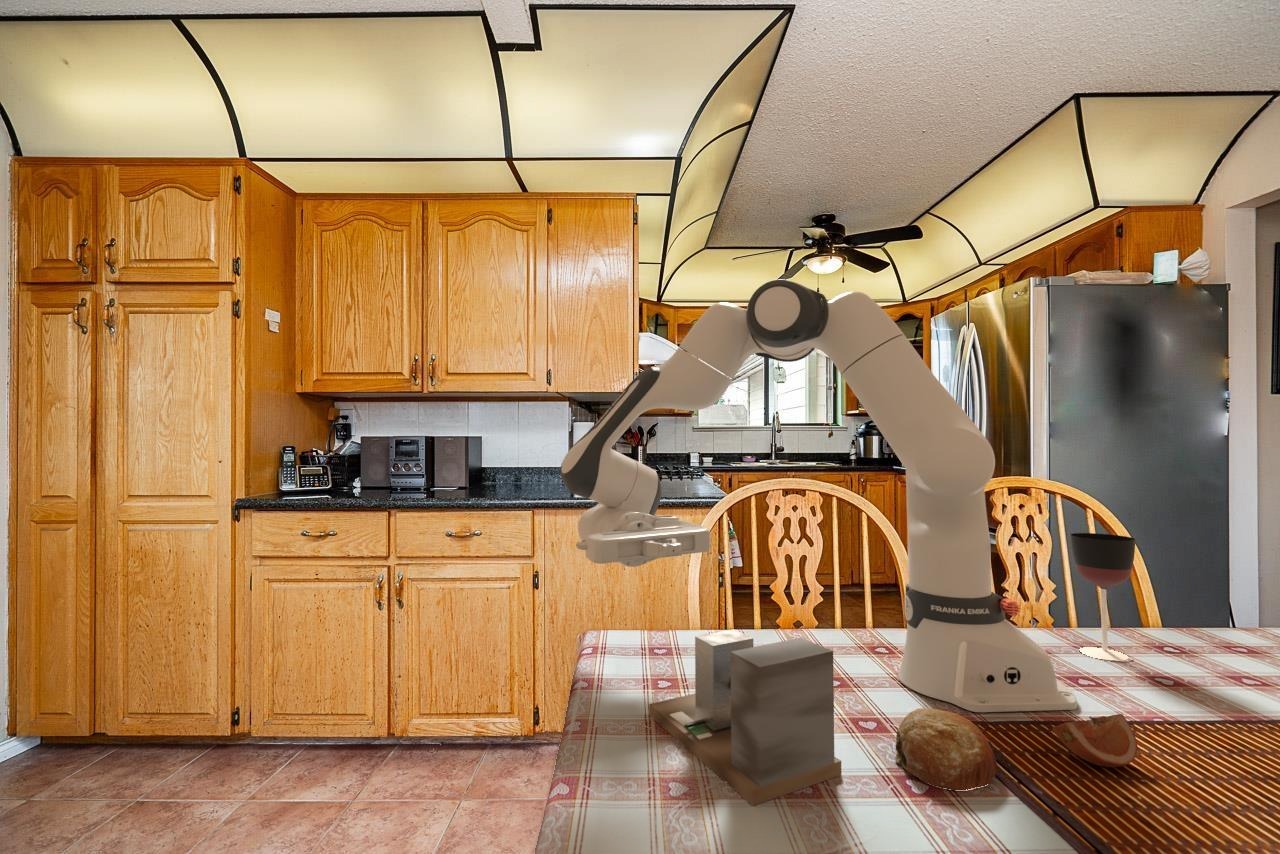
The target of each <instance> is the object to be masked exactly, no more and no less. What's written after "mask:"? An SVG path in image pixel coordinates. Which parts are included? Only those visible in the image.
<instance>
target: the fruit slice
mask: <svg viewBox="0 0 1280 854" xmlns="http://www.w3.org/2000/svg"><path fill="white" fill-rule="evenodd" d="M1088 718H1089V719H1087V720H1085V719H1082V720H1072V721H1065V722H1064V723H1061V724H1059V725H1056V726H1053V727H1052V731H1053V732H1054V734H1055V735H1056V737H1057V738H1058V739H1059V740H1060V742H1062V743H1063V745H1064V746H1065V747H1066V748H1067V749H1068V750H1069V751H1071V752H1072V753H1073V754H1074V755H1076V756H1077V757H1079V758H1080V759H1081V760H1084V761H1086V762H1088V761H1089V762H1088V763H1091V764H1093V763H1094V764H1093V765H1096V764H1097V765H1096V766H1100V767H1104V766H1105V767H1106V768H1118V767H1124V766H1127V765H1129V764H1130V763H1132V762H1133V761H1134V760H1135V759H1136V757H1137V754H1138V740H1137V738H1136V735H1135V732H1134V729H1132V726H1131V725H1130V723H1129V721H1128V720H1127V718H1126V717H1125V715H1124V714H1121V713H1120V714H1118V713H1117V714H1111V715H1109V716H1105V715H1102V716H1098V717H1095V716H1093V717H1092V716H1089V717H1088Z"/></svg>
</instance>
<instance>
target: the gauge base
mask: <svg viewBox="0 0 1280 854" xmlns="http://www.w3.org/2000/svg"><path fill="white" fill-rule="evenodd" d="M834 679H835V678H834V651H833V650H831V649H829V648H827V647H824V646H822V645H819V644H817V643H815V642H813V641H810V640H808V639H806V638H804V637H797V638H793V639H788V640H782V641H777V642H772V643H767V644H762V645H758V646H753V647H751V648H746V649H741V650H736V651H731V726H729V727H726V728H722V729H718V730H714V731H713V730H712V729H711V728H709V727H708V726H707V725H706V724H701V725H697V726H693V727H689V728H687V727H685V724H686V723H690V722H694V721H697V720H699V719H698V718H696V709H695V693H692V694H687V695H683V696H682V695H681V696H680V697H679V696H678V697H674V698H669V699H665V700H662V701H661V700H660V701H656V702H653V703H652V702H651V703H649V705H648V706H649V707H648V708H649V711H648V712H649V713H648V714H649V715H648V716H649V717H651V718H652V719H653V720H654V721H655V722H656V723H657V724H659V725H660V726H661V727H662V728H663V729H664V730H665V731H666V732H668V734H669V735H671V736H672V737H673V738H675V739H676V741H678V742H679V743H680V744H681V745H683V747H685V748H686V749H687V750H688V751H689V752H690V753H692V754H693V755H694V756H695V757H696V758H698V759H699V761H701V762H702V763H703V764H704V765H706V766H707V767H708V768H709V769H710V770H711V771H712V772H714V774H716V775H717V776H718V777H719V778H720V779H721V780H723V781H724V782H725V783H726V784H727V785H729V786H730V787H731V788H732V789H733V790H734V791H735V792H737V793H738V794H739V795H740V796H741V797H742V798H743V799H744V800H745V801H747V802H748V803H749V804H750V805H751V806H753V807H754V806H756V805H760V804H762V803H764V802H768V801H771V800H774V799H777V798H780V797H782V796H785V795H788V794H790V793H794V792H797V791H799V790H802V789H805V788H809V787H810V786H814V785H816V784H820V783H822V782H824V781H828V780H831V779H833V778H836V777H839V776H842V760H840V759H839V758H838V757H836V756H835V707H834V706H835V705H834V704H835V702H834V701H835V697H834V696H835V694H834V693H835V691H834V690H835V687H834V685H835V684H834Z"/></svg>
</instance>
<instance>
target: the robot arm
mask: <svg viewBox="0 0 1280 854" xmlns="http://www.w3.org/2000/svg"><path fill="white" fill-rule="evenodd" d="M816 349H817V350H819V351H821V352H822V353H824V354H825V355H826V356H827V357H828V358H829V359H830V361H832V363H833V364H834V367H836V370H838V372H839V373H840V375H841V377H842V378H843V380H844V381H845V383H846V384H847V386H849V388H850V389H851V391H852V393H853V394H854V395H855V397H856V399H858V401H859V403H860V404H861V406H862V407H863V409H864V410H865V411H866V413H867V414H868V416H869V417H870V419H871V421H872V422H873V423H874V424H875V426H876V428H877V429H878V430H879V432H880V433H881V435H882V436H883V439H885V441H886V442H887V443H888V445H889V447H890V448H891V449H892V451H893V452H894V454H895V455H896V457H897V458H898V459H899V461H900V463H901V464H902V466H903V467H904V469H905V485H906V487H905V489H906V493H905V494H906V518H907V519H906V523H907V529H906V530H907V567H908V568H907V570H908V571H907V573H908V576H907V577H908V578H907V580H908V583H907V584H905V593H904V594H905V595H904V616H905V622H906V623H907V624H906V625H907V626H906V628H907V629H906V638H905V645H904V650H903V656H902V661H901V664H900V668H899V670H898V675H897V678H898V679H899V681H900V682H901V683H902V684H903V685H904V686H906V687H907V688H909V689H911V690H913V691H914V692H917V693H919V694H922V695H924V696H927V697H930V698H933V699H937V700H940V701H943V702H947V703H950V704H953V705H954V706H955V705H956V706H958V707H960V708H962V709H965V710H967V711H969V712H974V713H994V712H996V713H999V712H1033V711H1063V710H1064V711H1067V710H1068V711H1069V710H1077V708H1078V702H1077V701H1078V700H1077V697H1076V695H1075V693H1073V691H1072V690H1071V689H1069V687H1068V686H1066V685H1065V684H1064V683H1062V682H1061V681H1059V680H1058V679H1057V677H1056V672H1055V668H1054V665H1053V662H1052V659H1051V657H1050V656H1049V655H1050V654H1048V653H1047V651H1046V650H1045V649H1044V648H1043V647H1042V646H1041V645H1040V644H1039V643H1037V642H1036V641H1034V640H1033V639H1032V638H1031V637H1030V636H1028V635H1027V634H1026V633H1025V632H1024V631H1022V630H1021V629H1020V628H1018V627H1016V625H1014V624H1012V623H1011V622H1010V621H1008V619H1006V614H1008V615H1009V616H1010V617H1011V616H1012V617H1015V616H1018V615H1019V614H1020V613H1021V605H1020V604H1019V603H1018V602H1016V601H1014V600H1013V599H1011V598H1003V597H1002V596H1000V595H998V594H997V593H996V592H993V591H992V572H991V571H992V562H991V561H992V560H991V559H992V558H991V556H992V555H991V536H990V530H989V522H988V521H989V520H988V513H987V505H986V495H985V493H986V491H985V487H986V486H987V485H988V484H989V482H990V481H991V479H992V478H993V475H994V472H995V469H996V468H995V467H996V457H995V456H996V455H995V452H994V449H993V447H992V445H991V443H990V441H988V439H987V438H986V437H985V435H984V434H983V432H981V430H980V429H979V428H978V426H977V425H976V424H975V423H974V422H973V420H972V419H971V417H970V416H969V415H968V414H967V412H966V411H965V410H964V409H963V407H961V406H960V404H959V403H958V402H957V401H956V400H955V398H954V397H953V395H952V394H950V392H949V391H948V390H947V389H946V388H945V386H944V385H942V383H941V382H940V381H939V380H938V379H937V377H936V376H935V375H934V373H933V371H931V369H930V368H929V367H928V365H927V364H926V362H925V361H924V359H923V358H922V356H921V355H920V354H919V353H918V351H917V350H916V348H914V346H913V344H912V343H911V342H910V340H909V338H907V336H906V335H905V334H904V332H903V331H902V330H901V328H900V327H899V325H897V323H896V322H895V321H894V320H893V318H892V317H891V316H889V314H888V313H887V312H886V311H885V310H884V309H883V308H882V307H881V306H880V305H879V304H878V303H877V302H876V301H874V300H873V299H872V298H871V297H870V296H869V295H868V294H866V293H864V292H861V291H848V292H845V293H841V294H839V295H837V296H835V297H834V298H832V299H830V300H827V298H826V296H825V295H824V294H823V293H821V292H820V291H819V292H818V291H816V290H813V289H811V288H809V287H806V286H804V285H802V284H800V283H798V282H795V281H792V280H788V279H773V280H770V281H768V282H766V283H764V284H762V285H761V286H759V287H758V288H757V289H756V290H755V291H754V292H753V294H752V295H751V296H750V299H749V301H748V303H747V306H746V308H742V307H741V306H738V305H736V304H734V303H730V302H717V303H714V304H712V305H710V306H709V307H708V308H707V309H706V310H705V312H704V313H703V314H702V315H701V316H700V317H699V318H698V319H697V321H696V322H695V323H694V324H693V325H692V327H691V328H690V329H689V331H688V333H687V334H686V335H685V337H684V338H683V339H682V341H681V343H680V344H679V347H677V349H676V351H675V352H674V353H673V355H671V356H670V357H669V358H668V359H667V360H666V361H665V362H663V363H661V364H659V365H658V366H653V367H647V368H644V369H643V370H642V371H641V372H640V373H639V374H637V375H636V377H635V378H633V380H631V382H630V383H629V384H628V385H627V386H626V387H625V388H624V389H623V391H621V393H620V394H619V395H618V396H617V397H616V399H615V400H614V401H613V402H612V403H611V404H610V406H609V407H608V408H607V409H606V410H605V412H603V414H602V415H601V416H600V417H599V419H597V421H596V422H594V424H593V425H592V427H591V428H590V429H589V430H588V431H587V432H586V433H585V434H584V435H583V436H582V437H581V438H579V440H578V441H576V442H575V443H574V444H573V445H572V446H571V448H570V449H569V450H568V451H567V453H566V454H565V456H564V458H563V460H562V462H561V465H560V475H561V479H562V483H563V484H564V487H565V488H566V489H567V490H568V492H569V494H573V495H576V496H579V497H582V498H585V499H589V500H591V501H593V502H596V503H597V505H595V506H593V507H591V508H589V509H586V510H585V511H584V512H583V513H582V514H581V516H579V519H578V523H577V531H578V536H579V538H580V540H581V541H580V542H576V543H575V546H576V549H578V550H581V551H585V557H586V558H587V560H589V561H590V562H592V563H594V564H597V565H598V564H601V565H605V564H612V563H613V564H614V563H618V564H620V565H623V566H626V567H630V568H636V567H640V566H644V565H645V564H647V563H650V562H653V561H655V560H657V559H662V558H663V559H664V558H670V557H671V558H672V557H681V556H682V555H690V554H698V553H699V554H700V553H707V552H709V551H710V549H711V532H710V529H709V528H707V527H706V526H704V525H703V526H702V525H700V524H696V523H693V522H690V521H684V520H680V517H678V516H676V515H657V514H656V512H657V510H658V508H659V505H660V503H661V499H662V484H661V480H660V477H659V475H658V473H657V471H656V470H655V469H654V468H652V467H649V466H648V465H646V464H644V463H642V462H640V461H637V460H636V459H633V458H631V457H629V456H626V455H624V454H623V453H620V452H619V451H617V450H615V449H613V447H614V445H615V444H616V443H617V442H618V440H619V439H620V438H621V437H622V436H623V435H624V433H625V432H626V431H627V430H628V429H629V428H630V426H631V425H632V424H633V423H634V422H635V421H636V419H637V418H638V417H639V416H640V415H642V414H643V413H645V412H647V411H649V410H654V409H657V410H658V409H670V410H678V411H687V412H688V411H689V412H691V411H692V412H695V411H699V410H703V409H706V408H710V407H712V406H713V405H715V404H716V403H717V402H718V401H719V400H720V399H721V398H722V397H723V396H724V394H725V392H726V391H727V389H728V388H729V387H730V385H731V383H732V382H733V380H734V379H735V377H736V376H737V373H738V372H739V370H740V369H741V367H742V366H743V364H744V363H745V362H746V361H747V359H749V358H750V357H752V355H756V356H758V357H762V358H767V359H770V360H771V359H772V360H775V361H779V362H785V363H786V362H787V363H791V362H792V363H793V362H797V361H800V360H801V361H802V360H803V359H805V358H807V357H808V356H809V355H811V354H812V353H813V352H814V350H816Z"/></svg>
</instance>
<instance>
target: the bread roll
mask: <svg viewBox="0 0 1280 854" xmlns="http://www.w3.org/2000/svg"><path fill="white" fill-rule="evenodd" d="M895 741H896V742H895V748H894V750H895V751H896V755H895V758H894V760H895V763H897V764H899V765H900V766H901V767H902V768H903V767H904V769H905V770H906V771H907V772H908V773H909V774H910V775H912V774H913V775H912V776H914V777H916V778H917V777H918V778H919V779H920V780H922V781H924V782H926V783H929V784H931V785H934V786H938V787H941V788H947V789H951V790H966V789H967V790H968V789H971V788H975V787H981V786H985V785H987V784H990V785H991V783H992V781H993V780H994V779H995V777H996V772H997V768H998V763H997V758H996V756H995V752H994V751H995V749H993V748H994V746H993V744H992V742H991V740H989V739H987V737H986V736H985V735H984V734H983V732H982V731H981V729H979V727H978V726H977V725H976V724H974V723H973V722H972V721H971V720H970V719H968V718H966V717H964V716H962V715H960V714H958V713H955V712H951V711H947V710H946V711H945V710H941V709H937V708H931V707H925V708H917V709H914V710H912V711H911V712H909V713H907V715H906V716H905V717H904V718H903V719H902V721H901V723H900V724H899V727H898V729H897V731H896V738H895ZM919 779H918V780H919ZM920 780H919V781H920ZM922 781H921V782H922ZM924 782H923V783H924ZM926 783H925V784H926Z"/></svg>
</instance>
